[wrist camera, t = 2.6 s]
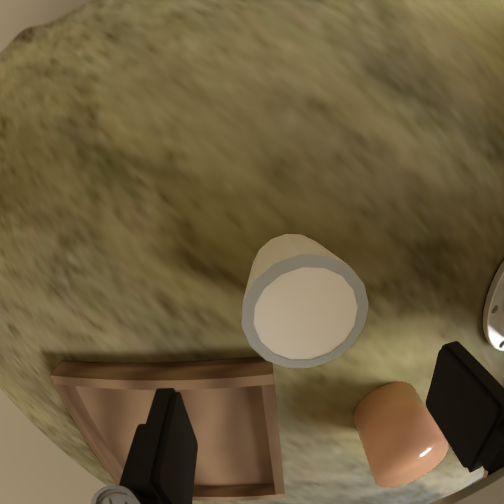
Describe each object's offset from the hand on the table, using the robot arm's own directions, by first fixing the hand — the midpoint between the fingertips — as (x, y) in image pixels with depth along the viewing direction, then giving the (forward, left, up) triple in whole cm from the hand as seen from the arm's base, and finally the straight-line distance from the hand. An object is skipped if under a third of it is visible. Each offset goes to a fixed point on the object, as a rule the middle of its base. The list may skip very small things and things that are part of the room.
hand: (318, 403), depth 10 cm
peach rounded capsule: (-10, +16, -14) cm, 23 cm away
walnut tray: (+11, +17, -14) cm, 25 cm away
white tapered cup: (-1, 0, -14) cm, 14 cm away
